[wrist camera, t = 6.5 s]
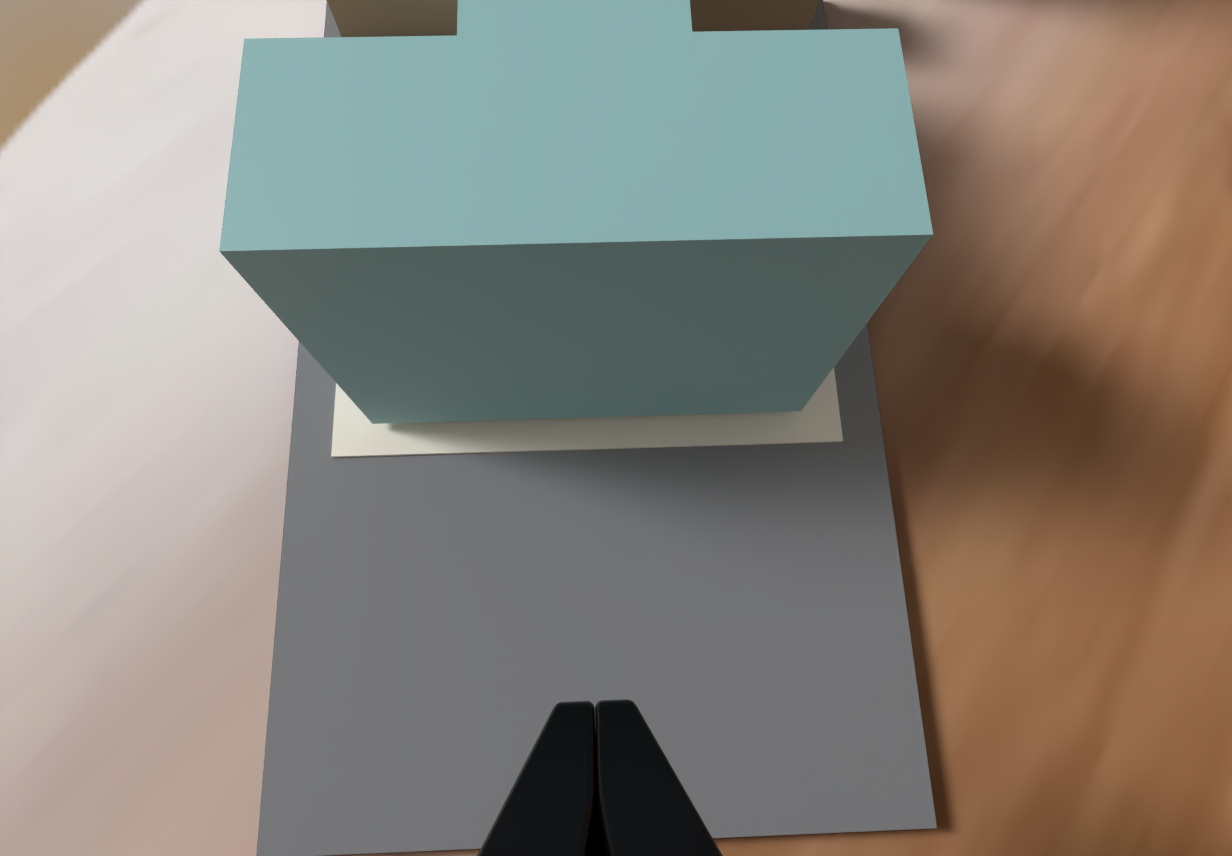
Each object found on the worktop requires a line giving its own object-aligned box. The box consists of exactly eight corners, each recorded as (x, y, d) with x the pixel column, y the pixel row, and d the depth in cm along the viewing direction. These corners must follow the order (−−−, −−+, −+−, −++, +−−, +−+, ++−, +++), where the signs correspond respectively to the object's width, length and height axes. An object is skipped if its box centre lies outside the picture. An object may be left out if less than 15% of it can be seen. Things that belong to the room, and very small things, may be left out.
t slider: (801, 411, 19) (933, 234, 12) (372, 423, 19) (219, 251, 11) (761, 42, 22) (844, -289, 15) (392, 48, 22) (282, -286, 14)
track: (927, 824, 18) (1004, 857, 14) (265, 853, 17) (184, 895, 14) (816, -1, 24) (851, -112, 21) (333, 6, 24) (288, -105, 20)
